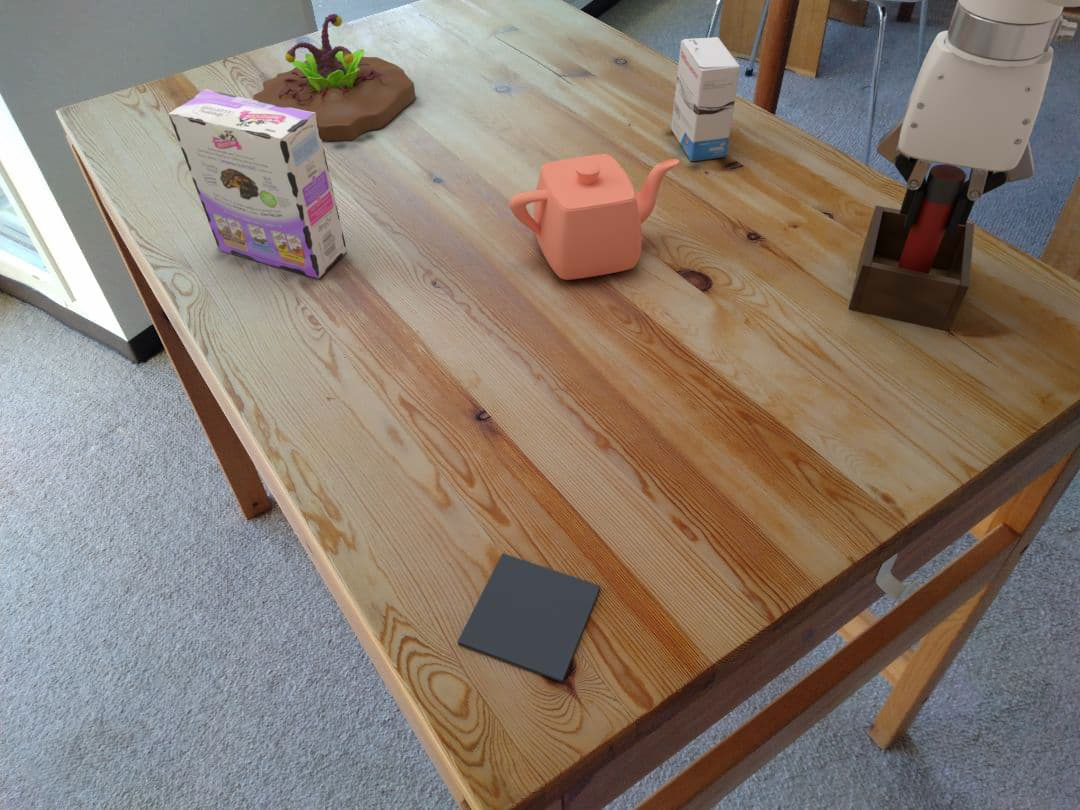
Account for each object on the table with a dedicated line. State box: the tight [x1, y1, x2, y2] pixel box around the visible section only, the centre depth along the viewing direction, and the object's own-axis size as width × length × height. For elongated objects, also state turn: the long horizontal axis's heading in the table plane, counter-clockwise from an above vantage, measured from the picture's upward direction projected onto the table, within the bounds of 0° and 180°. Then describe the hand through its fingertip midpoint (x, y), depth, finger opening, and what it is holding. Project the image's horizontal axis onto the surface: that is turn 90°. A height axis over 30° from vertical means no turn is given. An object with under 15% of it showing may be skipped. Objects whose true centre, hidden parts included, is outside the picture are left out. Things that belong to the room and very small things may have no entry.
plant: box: [252, 13, 416, 142], centre depth 113 cm, size 20×20×11 cm
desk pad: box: [457, 553, 601, 683], centre depth 62 cm, size 8×8×1 cm
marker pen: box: [897, 163, 967, 274], centre depth 81 cm, size 3×3×11 cm
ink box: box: [670, 36, 741, 162], centre depth 103 cm, size 8×5×12 cm, turn 11°
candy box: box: [168, 88, 348, 279], centre depth 87 cm, size 14×6×16 cm, turn 65°
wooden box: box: [848, 205, 975, 332], centre depth 85 cm, size 10×11×6 cm
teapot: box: [509, 153, 680, 281], centre depth 89 cm, size 12×18×10 cm, turn 104°
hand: (930, 223), depth 81 cm, fingers closed on marker pen, 3 cm apart
